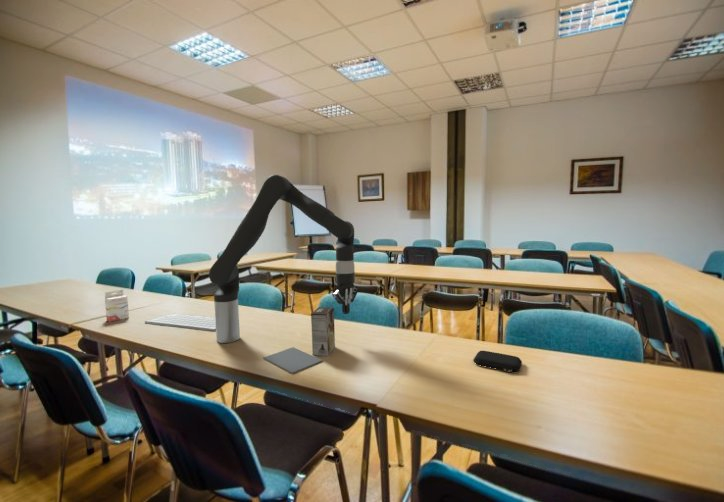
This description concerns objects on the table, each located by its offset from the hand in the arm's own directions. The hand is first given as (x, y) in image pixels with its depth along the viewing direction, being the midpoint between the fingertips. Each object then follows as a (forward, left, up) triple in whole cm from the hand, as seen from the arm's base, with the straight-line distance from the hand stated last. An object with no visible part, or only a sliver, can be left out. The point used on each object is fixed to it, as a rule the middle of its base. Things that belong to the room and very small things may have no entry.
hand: (346, 313), depth 137 cm
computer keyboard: (-78, -32, -13) cm, 85 cm away
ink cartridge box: (-112, -56, -12) cm, 126 cm away
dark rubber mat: (-2, -25, -12) cm, 28 cm away
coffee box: (0, -12, -12) cm, 17 cm away
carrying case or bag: (+54, +19, -13) cm, 59 cm away
